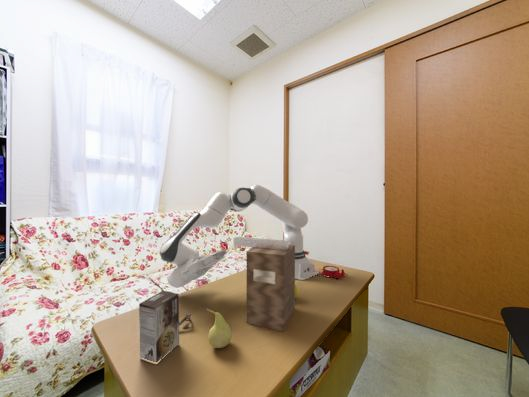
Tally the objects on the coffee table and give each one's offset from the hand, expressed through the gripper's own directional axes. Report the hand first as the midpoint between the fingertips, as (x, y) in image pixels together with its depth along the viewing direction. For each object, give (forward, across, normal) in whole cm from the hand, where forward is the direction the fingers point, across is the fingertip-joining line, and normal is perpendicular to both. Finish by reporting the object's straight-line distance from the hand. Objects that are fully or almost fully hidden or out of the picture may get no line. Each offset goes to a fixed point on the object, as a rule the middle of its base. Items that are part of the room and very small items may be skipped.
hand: (220, 254), depth 92 cm
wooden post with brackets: (-14, -20, +17) cm, 29 cm away
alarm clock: (+26, +52, +40) cm, 71 cm away
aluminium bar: (+18, 0, +5) cm, 19 cm away
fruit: (+1, -22, +26) cm, 34 cm away
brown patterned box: (+10, 0, +30) cm, 32 cm away
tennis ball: (+12, +16, +32) cm, 37 cm away
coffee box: (-12, -31, +18) cm, 37 cm away
